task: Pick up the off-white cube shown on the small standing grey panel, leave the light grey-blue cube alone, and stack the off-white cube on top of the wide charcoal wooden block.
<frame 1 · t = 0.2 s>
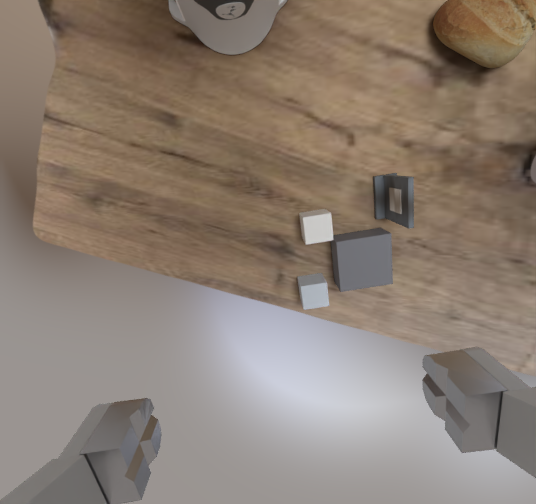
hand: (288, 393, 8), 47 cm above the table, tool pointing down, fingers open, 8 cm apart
bread roll: (469, 35, 47), on the table
base block: (356, 255, 58), on the table
standing grey panel: (384, 196, 54), on the table
ivory cube: (313, 223, 55), on the table
grey blue cube: (310, 285, 59), on the table
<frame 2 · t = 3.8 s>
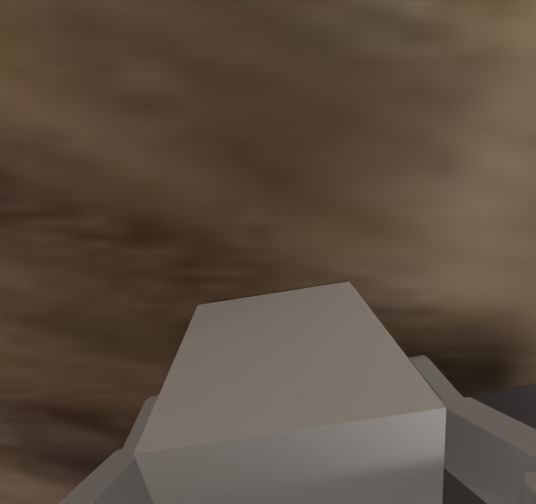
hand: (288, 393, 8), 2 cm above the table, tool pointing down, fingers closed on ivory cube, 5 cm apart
base block: (487, 475, 13), on the table
ivory cube: (283, 356, 10), on the table, touching gripper
when the fingers open (8 cm above the table, at t = 9.5 s): ivory cube drops 2 cm, resting on base block.
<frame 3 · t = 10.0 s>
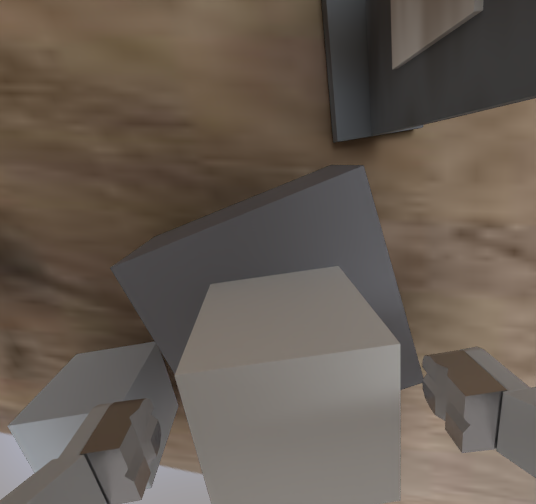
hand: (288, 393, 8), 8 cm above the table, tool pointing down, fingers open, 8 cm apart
base block: (274, 281, 17), on the table, touching ivory cube
standing grey panel: (369, 41, 13), on the table
ivory cube: (282, 330, 12), point 5 cm above the table, touching base block
grey blue cube: (129, 380, 18), on the table
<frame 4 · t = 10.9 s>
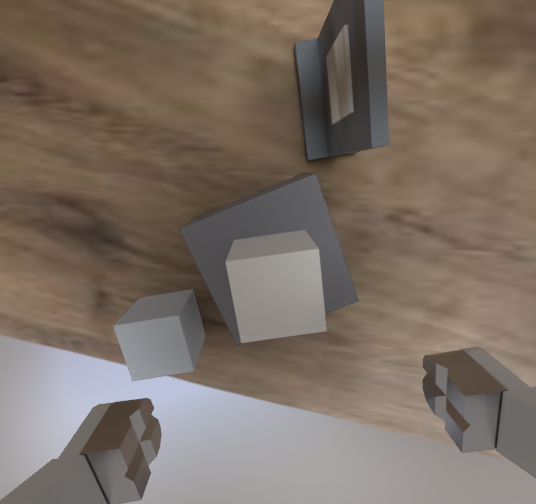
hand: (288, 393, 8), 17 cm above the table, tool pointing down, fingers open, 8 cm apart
base block: (270, 248, 25), on the table, touching ivory cube
standing grey panel: (326, 102, 22), on the table
ivory cube: (274, 268, 21), point 5 cm above the table, touching base block
grey blue cube: (173, 317, 27), on the table
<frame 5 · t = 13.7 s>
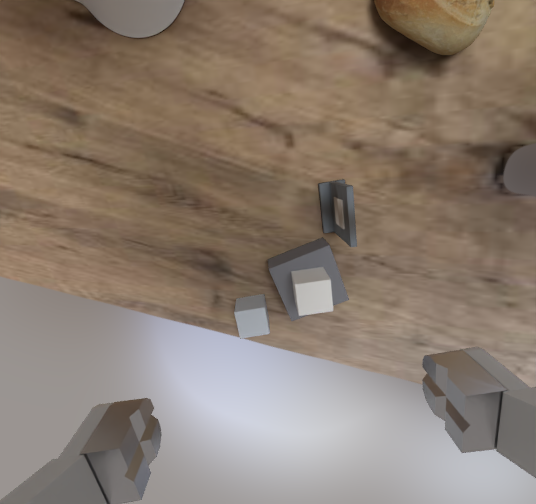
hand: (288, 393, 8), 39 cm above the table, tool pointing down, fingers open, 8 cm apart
bread roll: (419, 16, 39), on the table
base block: (304, 273, 50), on the table, touching ivory cube
standing grey panel: (333, 206, 46), on the table
ivory cube: (308, 283, 45), point 5 cm above the table, touching base block
grey blue cube: (252, 308, 51), on the table
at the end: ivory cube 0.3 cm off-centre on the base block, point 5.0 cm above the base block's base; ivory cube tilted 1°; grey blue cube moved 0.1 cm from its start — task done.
